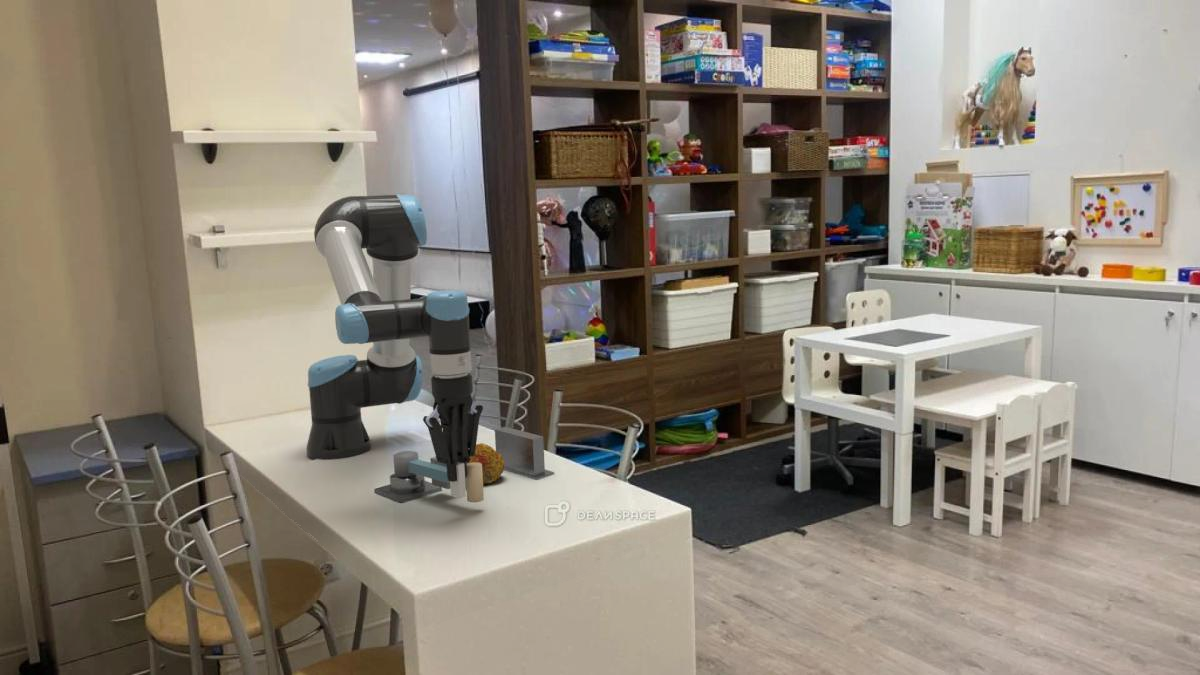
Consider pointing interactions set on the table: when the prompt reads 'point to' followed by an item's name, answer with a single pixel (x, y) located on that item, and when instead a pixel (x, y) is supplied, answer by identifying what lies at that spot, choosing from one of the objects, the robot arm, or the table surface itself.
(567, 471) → the table surface
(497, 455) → the golden brown lumpy piece
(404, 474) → the lever
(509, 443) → the frame
